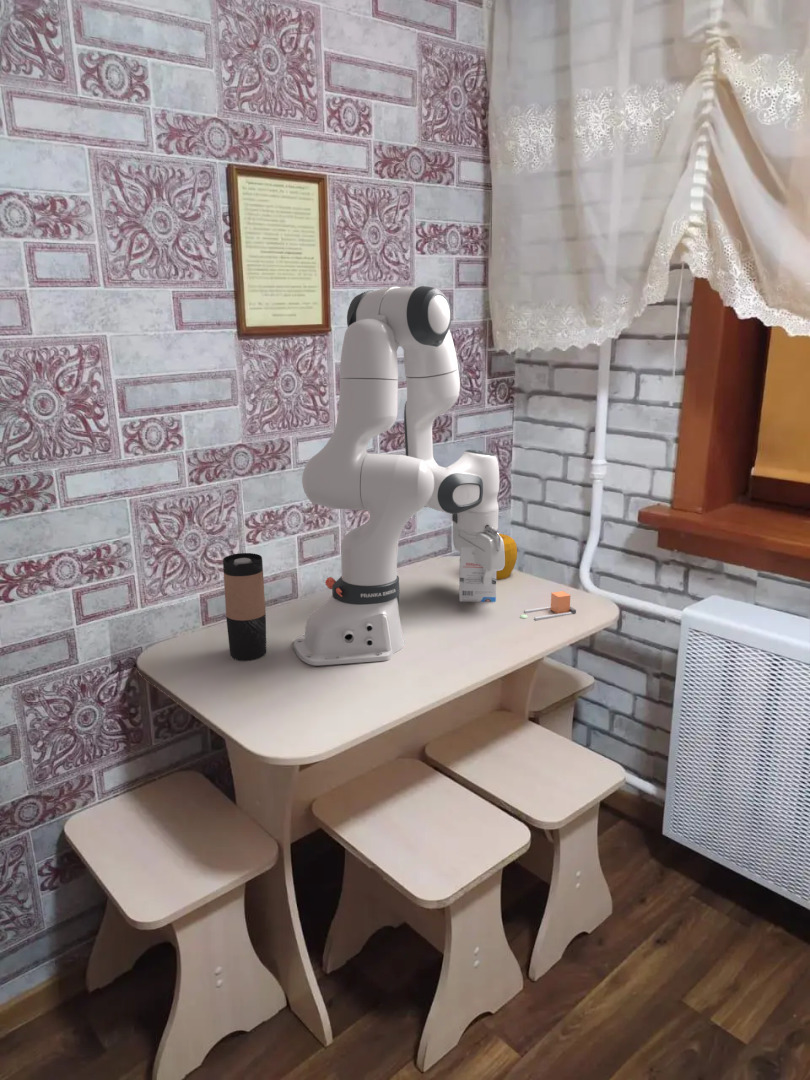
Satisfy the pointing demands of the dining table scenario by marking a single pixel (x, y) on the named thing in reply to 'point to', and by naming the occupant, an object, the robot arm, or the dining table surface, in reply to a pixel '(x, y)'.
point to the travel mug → (245, 606)
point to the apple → (508, 557)
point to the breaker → (560, 602)
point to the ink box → (474, 579)
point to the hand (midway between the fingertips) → (477, 578)
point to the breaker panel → (572, 611)
